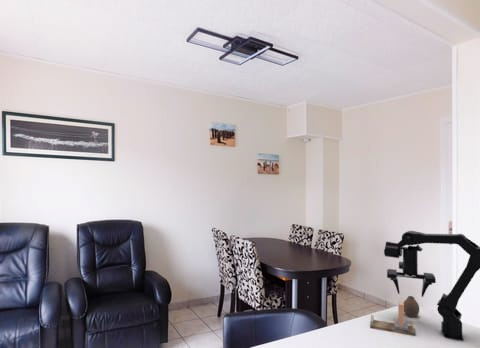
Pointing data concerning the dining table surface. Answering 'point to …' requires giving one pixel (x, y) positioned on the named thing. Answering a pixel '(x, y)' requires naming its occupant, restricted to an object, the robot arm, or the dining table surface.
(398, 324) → the fader
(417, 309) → the vase
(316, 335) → the dining table surface
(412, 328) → the fader track
